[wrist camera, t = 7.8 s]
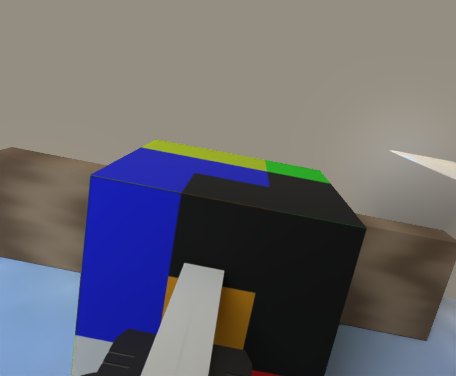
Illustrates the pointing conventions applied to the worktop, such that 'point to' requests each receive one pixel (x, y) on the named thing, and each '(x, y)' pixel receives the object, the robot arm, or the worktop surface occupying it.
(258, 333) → the puzzle toy
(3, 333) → the worktop surface
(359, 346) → the worktop surface
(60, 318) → the worktop surface
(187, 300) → the robot arm
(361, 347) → the worktop surface
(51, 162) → the walnut board
